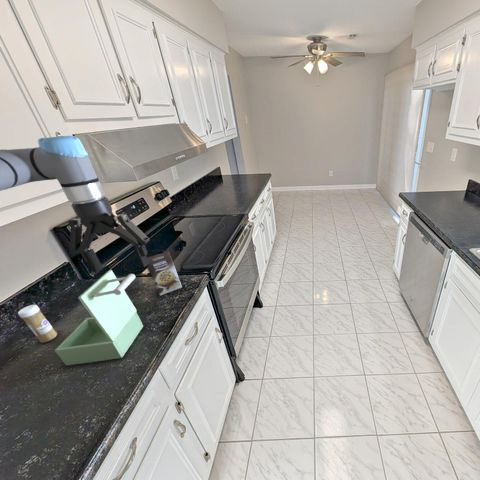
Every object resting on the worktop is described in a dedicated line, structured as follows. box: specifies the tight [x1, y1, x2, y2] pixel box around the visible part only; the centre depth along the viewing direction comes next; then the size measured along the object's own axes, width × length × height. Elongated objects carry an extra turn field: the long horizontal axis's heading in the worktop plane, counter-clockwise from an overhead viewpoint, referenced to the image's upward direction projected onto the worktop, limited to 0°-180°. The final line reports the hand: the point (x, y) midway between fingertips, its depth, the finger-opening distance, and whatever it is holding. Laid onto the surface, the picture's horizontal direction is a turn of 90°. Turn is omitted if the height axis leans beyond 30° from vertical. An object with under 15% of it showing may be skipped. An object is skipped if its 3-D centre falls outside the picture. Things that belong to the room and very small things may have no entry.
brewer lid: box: [77, 269, 137, 342], centre depth 79 cm, size 17×14×9 cm
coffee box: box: [146, 251, 183, 296], centre depth 108 cm, size 9×6×16 cm
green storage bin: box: [54, 311, 144, 366], centre depth 84 cm, size 17×14×7 cm
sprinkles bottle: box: [17, 304, 58, 343], centre depth 87 cm, size 5×5×14 cm
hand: (122, 267), depth 76 cm, fingers open, 13 cm apart
